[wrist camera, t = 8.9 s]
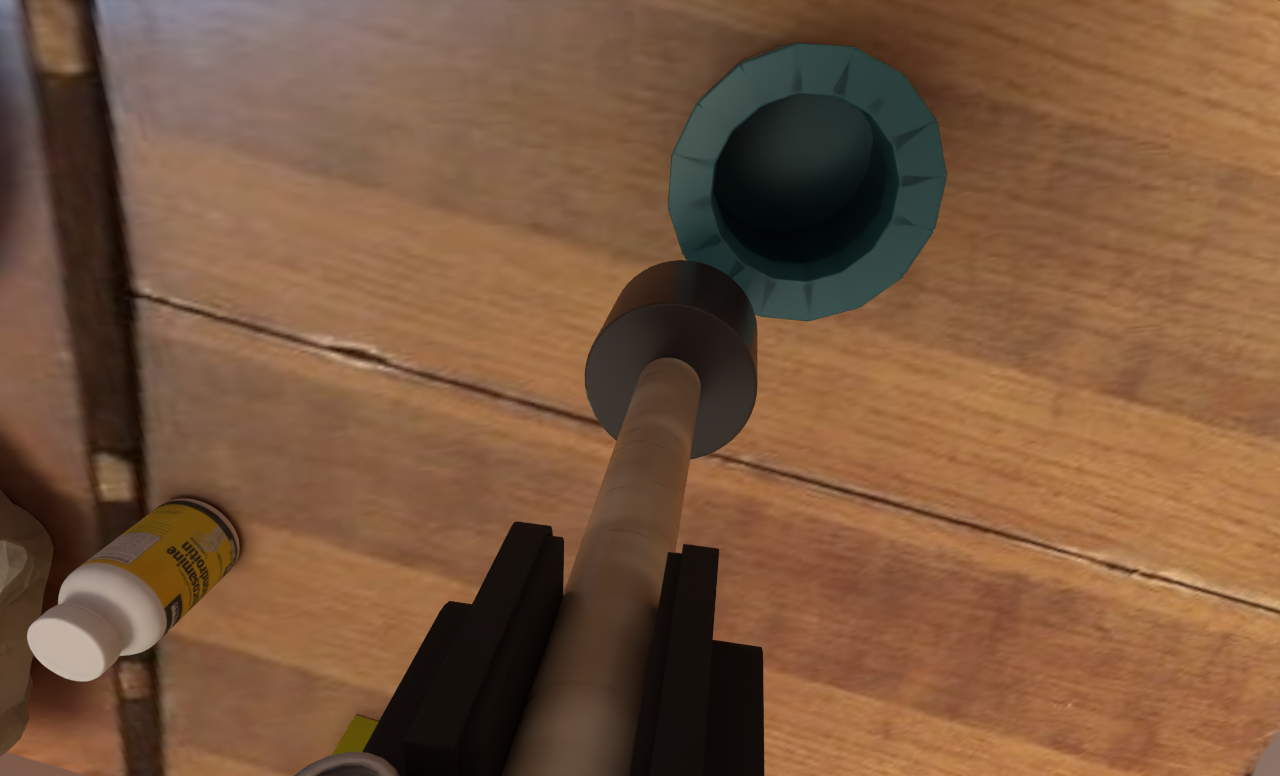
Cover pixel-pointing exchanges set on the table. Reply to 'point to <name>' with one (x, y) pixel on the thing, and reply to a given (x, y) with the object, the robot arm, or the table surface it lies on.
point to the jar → (808, 179)
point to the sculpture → (19, 611)
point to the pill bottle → (134, 589)
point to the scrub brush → (636, 507)
